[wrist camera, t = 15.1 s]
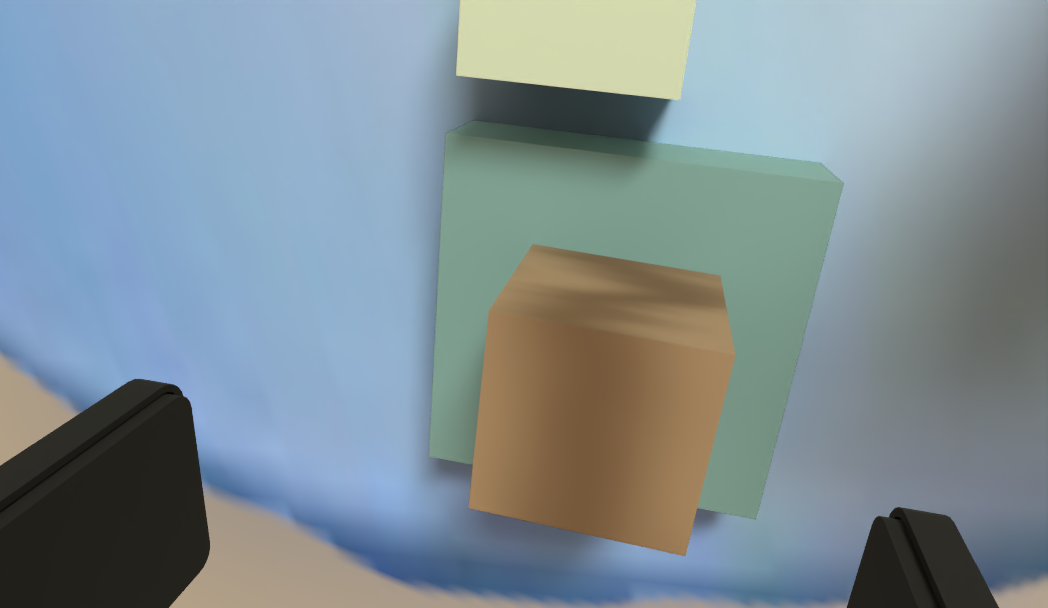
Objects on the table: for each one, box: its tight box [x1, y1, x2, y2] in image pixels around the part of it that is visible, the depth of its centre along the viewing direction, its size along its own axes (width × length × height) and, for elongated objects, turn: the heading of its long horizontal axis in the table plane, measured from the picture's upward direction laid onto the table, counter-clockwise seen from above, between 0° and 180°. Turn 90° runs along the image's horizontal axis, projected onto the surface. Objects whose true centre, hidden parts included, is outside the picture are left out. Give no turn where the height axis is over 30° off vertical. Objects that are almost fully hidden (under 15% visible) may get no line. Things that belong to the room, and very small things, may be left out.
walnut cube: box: [469, 244, 735, 556], centre depth 21 cm, size 6×6×6 cm
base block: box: [429, 120, 844, 519], centre depth 26 cm, size 12×12×4 cm
